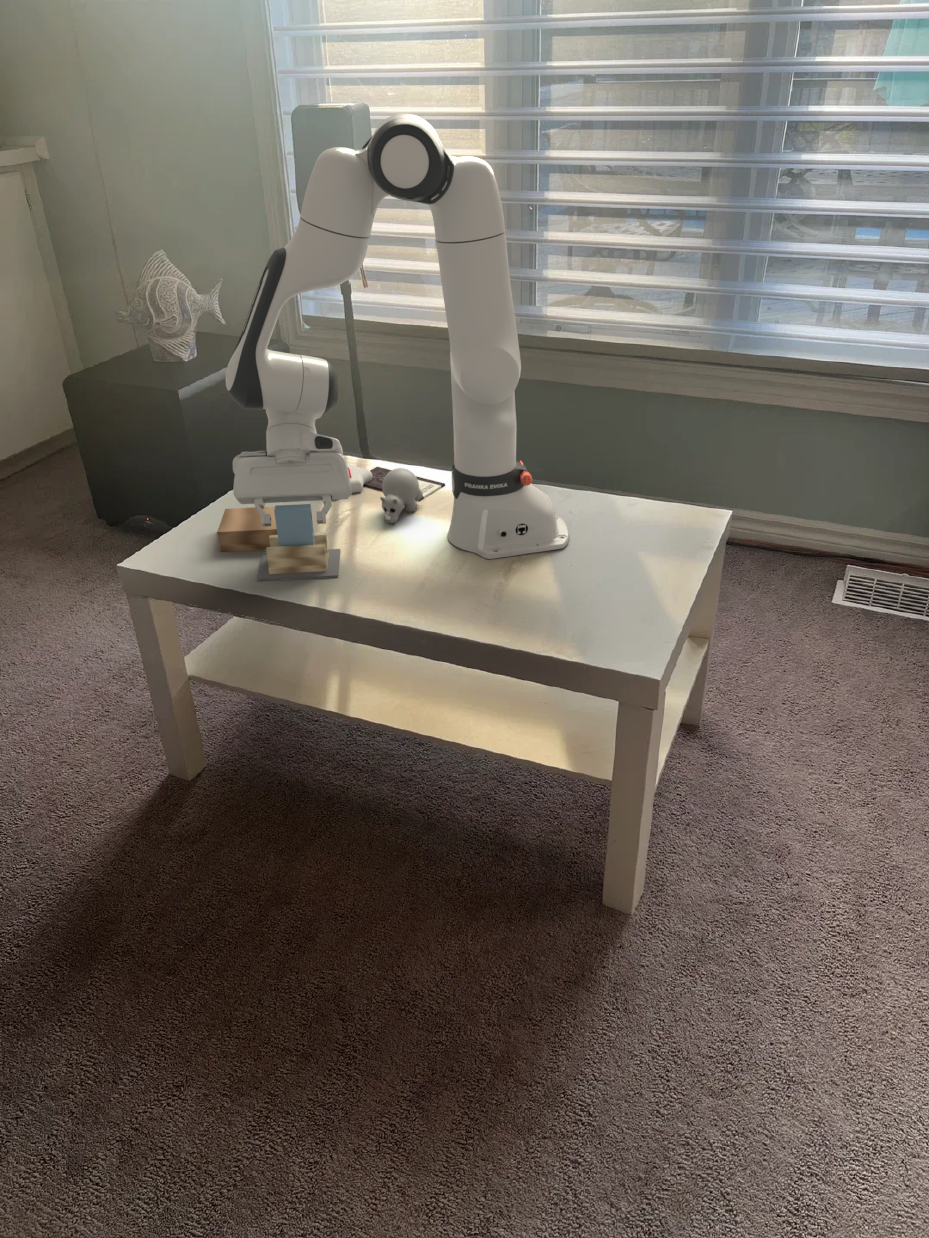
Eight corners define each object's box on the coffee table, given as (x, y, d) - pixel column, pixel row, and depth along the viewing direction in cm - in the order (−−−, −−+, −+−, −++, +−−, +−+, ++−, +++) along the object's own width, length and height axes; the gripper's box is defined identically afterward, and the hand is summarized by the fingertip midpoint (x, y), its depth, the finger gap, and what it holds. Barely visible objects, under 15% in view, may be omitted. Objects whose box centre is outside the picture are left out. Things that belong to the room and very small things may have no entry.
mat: (340, 550, 168) (340, 548, 168) (337, 577, 159) (337, 575, 159) (263, 554, 167) (263, 552, 167) (256, 581, 159) (256, 579, 158)
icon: (340, 484, 184) (304, 473, 189) (342, 504, 186) (307, 493, 191) (380, 464, 192) (344, 455, 197) (381, 483, 194) (346, 473, 199)
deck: (291, 524, 177) (288, 505, 175) (286, 548, 169) (283, 528, 167) (228, 527, 177) (225, 508, 175) (220, 551, 168) (217, 532, 166)
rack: (328, 555, 166) (326, 531, 164) (326, 573, 161) (324, 548, 158) (273, 558, 166) (269, 534, 163) (269, 576, 160) (265, 551, 157)
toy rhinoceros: (374, 532, 180) (363, 502, 173) (396, 489, 186) (386, 458, 180) (407, 537, 178) (397, 506, 171) (428, 493, 184) (420, 462, 177)
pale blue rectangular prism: (316, 555, 163) (310, 504, 158) (315, 560, 162) (309, 508, 156) (282, 556, 163) (275, 505, 158) (281, 562, 161) (274, 510, 156)
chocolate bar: (377, 466, 200) (445, 483, 192) (377, 470, 201) (445, 487, 192) (350, 480, 194) (419, 498, 185) (351, 484, 194) (420, 503, 186)
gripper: (228, 445, 158) (229, 521, 155) (347, 439, 159) (350, 515, 156) (236, 459, 164) (236, 533, 161) (351, 454, 165) (353, 527, 162)
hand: (294, 524), depth 158 cm, fingers open, 8 cm apart
